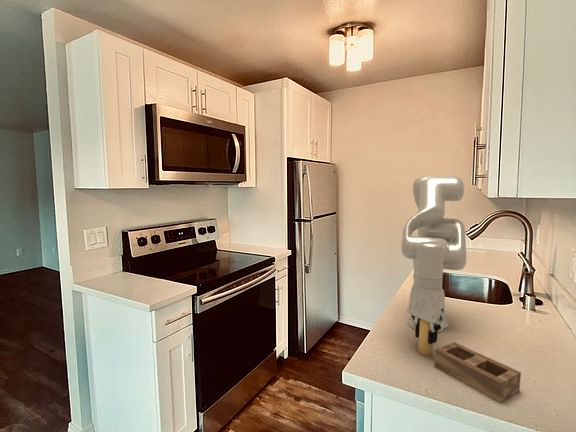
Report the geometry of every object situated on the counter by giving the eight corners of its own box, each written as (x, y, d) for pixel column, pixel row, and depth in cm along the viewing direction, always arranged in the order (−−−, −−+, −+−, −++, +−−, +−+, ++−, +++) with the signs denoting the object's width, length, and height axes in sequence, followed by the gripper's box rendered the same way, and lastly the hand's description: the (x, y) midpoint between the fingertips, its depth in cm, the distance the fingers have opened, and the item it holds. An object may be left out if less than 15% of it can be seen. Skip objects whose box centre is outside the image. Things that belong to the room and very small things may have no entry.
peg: (423, 347, 105) (425, 311, 104) (434, 353, 102) (436, 316, 101) (415, 351, 103) (417, 314, 102) (426, 356, 100) (428, 318, 99)
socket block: (453, 358, 99) (454, 342, 99) (519, 390, 84) (520, 372, 83) (434, 366, 95) (435, 349, 94) (500, 402, 79) (501, 383, 79)
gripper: (398, 277, 106) (396, 331, 108) (445, 292, 91) (442, 355, 93) (414, 273, 109) (411, 326, 111) (462, 288, 95) (458, 348, 97)
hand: (425, 339), depth 102 cm, fingers closed on peg, 4 cm apart
